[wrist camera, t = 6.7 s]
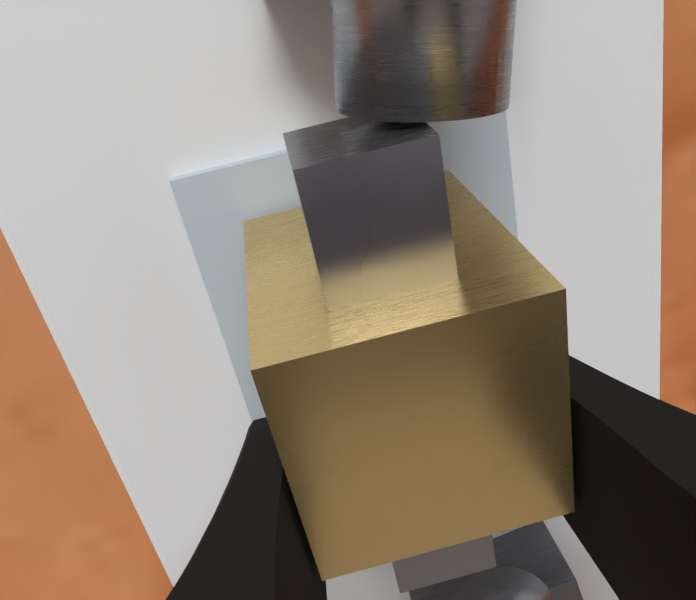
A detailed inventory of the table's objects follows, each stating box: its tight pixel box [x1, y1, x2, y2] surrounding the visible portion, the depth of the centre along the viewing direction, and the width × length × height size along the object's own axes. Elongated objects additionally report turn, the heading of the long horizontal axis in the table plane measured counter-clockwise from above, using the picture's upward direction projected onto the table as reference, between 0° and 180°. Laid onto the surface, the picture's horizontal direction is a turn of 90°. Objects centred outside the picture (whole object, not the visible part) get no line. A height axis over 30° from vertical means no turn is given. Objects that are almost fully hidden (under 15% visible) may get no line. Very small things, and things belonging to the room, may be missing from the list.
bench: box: [0, 0, 663, 600], centre depth 15 cm, size 13×25×1 cm, turn 12°
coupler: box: [244, 117, 575, 593], centre depth 11 cm, size 4×8×5 cm, turn 12°
